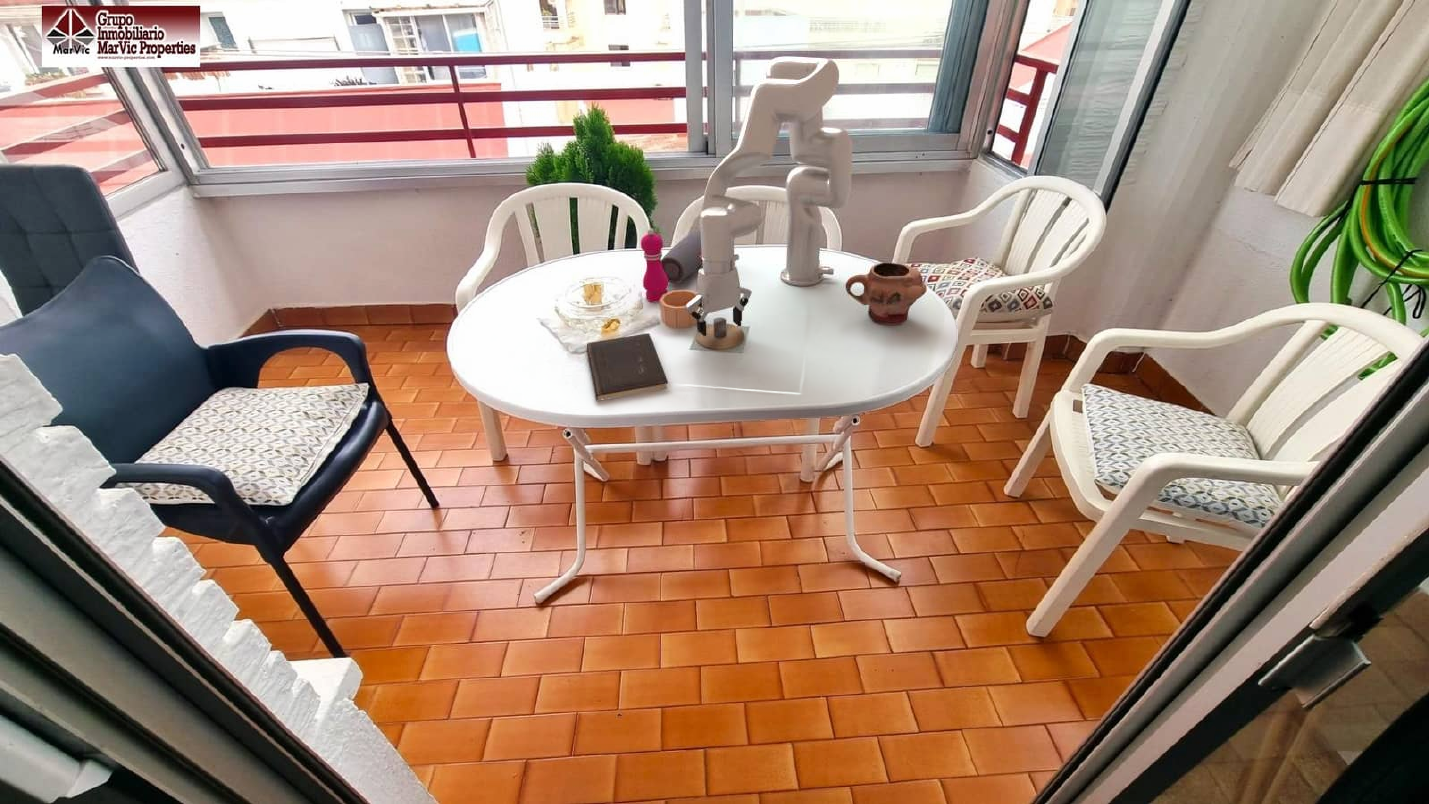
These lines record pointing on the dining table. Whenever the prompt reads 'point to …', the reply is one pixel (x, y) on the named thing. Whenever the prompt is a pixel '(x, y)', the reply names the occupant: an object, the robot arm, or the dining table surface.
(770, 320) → the dining table surface
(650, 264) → the pepper mill
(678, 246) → the bluetooth speaker
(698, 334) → the lid
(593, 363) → the hardcover book
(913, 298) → the terracotta clay mug
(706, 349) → the mat
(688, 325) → the bowl
